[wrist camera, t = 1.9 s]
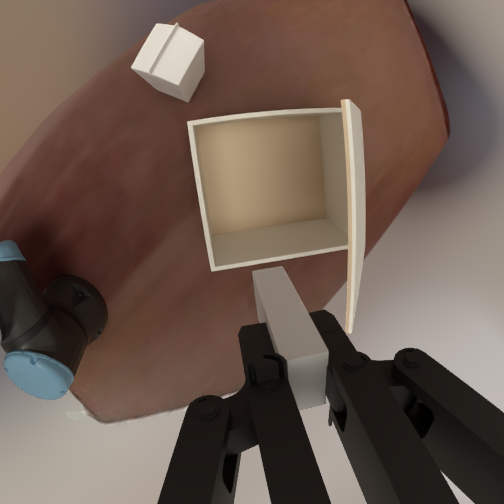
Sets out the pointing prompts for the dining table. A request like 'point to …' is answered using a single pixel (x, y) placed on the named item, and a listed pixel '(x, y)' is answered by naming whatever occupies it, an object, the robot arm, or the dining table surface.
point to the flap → (354, 204)
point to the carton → (271, 185)
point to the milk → (172, 61)
